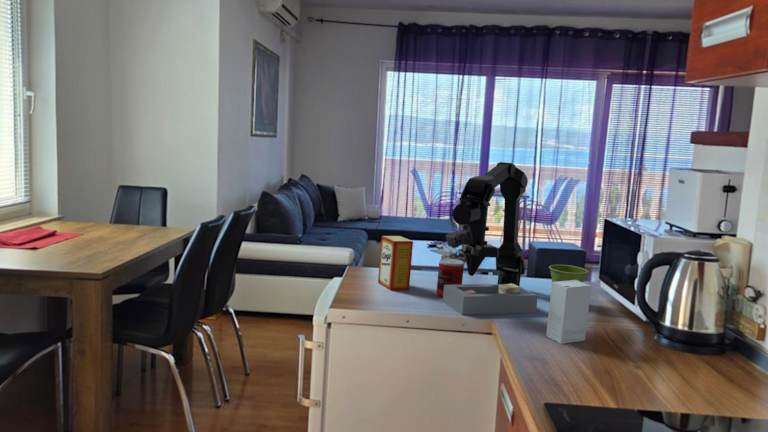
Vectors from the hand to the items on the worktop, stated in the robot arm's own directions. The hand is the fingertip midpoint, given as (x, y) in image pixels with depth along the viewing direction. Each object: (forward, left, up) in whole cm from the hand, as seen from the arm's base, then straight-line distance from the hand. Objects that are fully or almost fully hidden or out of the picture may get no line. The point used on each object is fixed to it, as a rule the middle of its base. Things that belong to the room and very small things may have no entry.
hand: (471, 275), depth 176 cm
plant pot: (-35, -2, -10) cm, 36 cm away
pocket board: (-7, 0, -10) cm, 12 cm away
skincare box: (-13, +29, -10) cm, 33 cm away
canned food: (0, -13, -10) cm, 16 cm away
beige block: (-13, 0, -6) cm, 15 cm away
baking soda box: (+14, -25, -10) cm, 30 cm away
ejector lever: (-8, 0, -7) cm, 11 cm away
